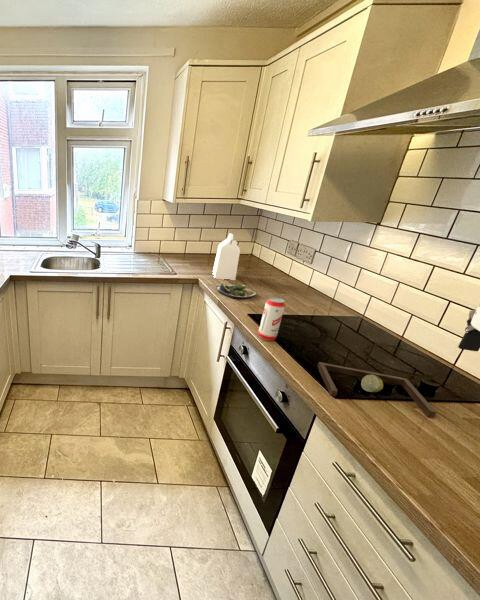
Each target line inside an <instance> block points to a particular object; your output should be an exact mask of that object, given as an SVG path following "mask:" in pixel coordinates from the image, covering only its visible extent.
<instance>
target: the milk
mask: <svg viewBox="0 0 480 600" xmlns="http://www.w3.org/2000/svg"><path fill="white" fill-rule="evenodd" d="M240 254H241V248H240V246H239V245H238V241H237V240H236V239H234V234H233V233H228V236H227V238H226V239H224V240H223V241H221V242H220V243H219V244H218V245H217V249H216V255H215V260H214V264H213V269H212V272H213V273H212V276H213V275H214V276H213V279H215V278H216V279H215V280H224V279H230V280H229V281H236V278H237V273H238V266H239V260H240Z"/></svg>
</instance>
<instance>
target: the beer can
mask: <svg viewBox="0 0 480 600" xmlns="http://www.w3.org/2000/svg"><path fill="white" fill-rule="evenodd" d="M285 307H286V304H285V300H284V299H282V298H280V297H274V296H272V297H271V296H270V297H268V299H267V300H266V302H265V305H264V308H263V313H262V316H261V320H260V325H259V328H258V332H257V335H258V337H259V338H260V339H262V341H263V340H264V341H268V342H272V341H274V340H276V339H277V337H278V333H279V330H280V326H281V322H282V320H283V319H282V318H283V316H284V312H285Z"/></svg>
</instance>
